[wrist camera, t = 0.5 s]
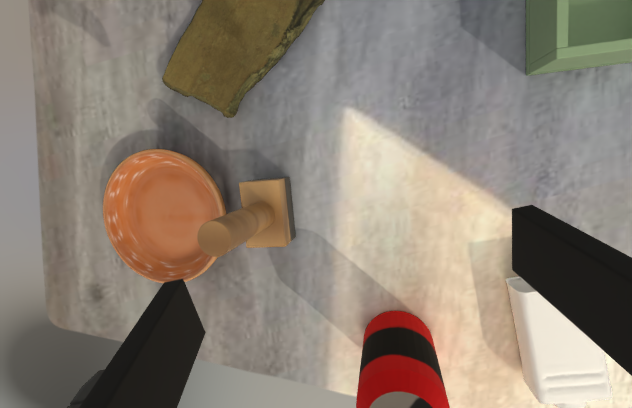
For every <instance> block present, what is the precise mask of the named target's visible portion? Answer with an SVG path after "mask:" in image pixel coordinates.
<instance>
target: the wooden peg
mask: <svg viewBox="0 0 632 408" xmlns="http://www.w3.org/2000/svg"><path fill="white" fill-rule="evenodd" d="M239 188H240V196H241V205H242V208H241V209H239V210H236V211H233V212H231V213H228V214H226V215H223V216H221V217H218V218H215V219H213V220H210V221H208V222H205V223H204V224H203V225H202V226H201V227H200V229H199V231H198V235H197V239H198V244H199V246H200V248H201V249H202V250H203V251H204V252H205V253H206V254H208V255H210V256H213V257H220V256H223V255H225V254H226V253H228V252H229V251H231V250H232V249H234V248H236V247H237V246H239V245H240V244H242V243H243V242H245V241H246V246H247V248H255V247H286V246H287V245H288V244H289V243H290V242H291V241H292V240H293V239H294V238H295V237H296V235H295V225H294V215H293V205H292V195H291V185H290V177H282V178H270V179H257V180H250V181H245V182H241V183H239Z"/></svg>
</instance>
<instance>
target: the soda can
mask: <svg viewBox="0 0 632 408" xmlns="http://www.w3.org/2000/svg"><path fill="white" fill-rule="evenodd" d="M356 408H450V407H449V403H448V399H447V395H446V391H445V387H444V383H443V379H442V375H441V371H440V367H439V363H438V359H437V355H436V351H435V347H434V343H433V339H432V336H431V333H430V331H429V329H428V328H427V326H426V325H425V324H424V323H423V322H422V321H421V320H420V319H419V318H417V317H416V316H414V315H412V314H409V313H406V312H402V311H389V312H385V313H382V314H380V315H378V316H376V317H375V318H374V319H373V320H372V321H371V322H370V323H369V324H368V326H367V328H366V331H365V334H364V341H363V350H362V358H361V367H360V375H359V384H358V392H357V403H356Z"/></svg>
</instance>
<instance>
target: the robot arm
mask: <svg viewBox="0 0 632 408" xmlns="http://www.w3.org/2000/svg"><path fill="white" fill-rule="evenodd" d="M512 270H513V271H514V272H515V273H517V274H518V275H519V276H520V277H521V278H522V279H523V280H524V281H526V282H527V283H528V284H529V285H530V286H531V287H532V288H533V289H535V290H536V291H537V292H538V293H539V294H540V295H541V296H543V297H544V298H545V299H546V300H547V301H548V302H549V303H550V304H552V305H553V306H554V307H555V308H556V309H557V310H558V311H559V312H561V313H562V314H563V315H564V316H565V317H566V318H567V319H568V320H570V321H571V322H572V323H573V324H574V325H575V326H576V327H577V328H579V329H580V330H581V331H582V332H583V333H584V334H585V335H587V336H588V337H589V338H590V339H591V340H592V341H593V342H594V343H596V344H597V345H598V346H599V347H600V348H601V349H602V350H603V351H605V352H606V353H607V354H608V355H609V356H610V357H611V358H612V359H614V360H615V361H616V362H617V363H618V364H619V365H620V366H621V367H623V368H624V369H625V370H626V371H627V372H628V373H629V374H630V375H632V258H631V257H629V256H627V255H626V254H624V253H622V252H620V251H618V250H616V249H614V248H612V247H610V246H609V245H607V244H605V243H603V242H601V241H599V240H597V239H595V238H594V237H592V236H590V235H588V234H586V233H584V232H582V231H580V230H578V229H577V228H575V227H573V226H571V225H569V224H567V223H565V222H563V221H561V220H560V219H558V218H556V217H554V216H552V215H550V214H548V213H546V212H545V211H543V210H541V209H539V208H537V207H535V206H533V205H529V206H524V207H519V208H515V209H512ZM204 335H205V330H204V328H203V326H202V323H201V321H200V318H199V316H198V314H197V311H196V309H195V306H194V304H193V302H192V299H191V297H190V294H189V292H188V290H187V287H186V285H185V282H184V280H183V279H178V280H173V281H169V282H164V284H163V285H162V287H161V288H160V290H159V291H158V292H157V294H156V295H155V297H154V298H153V300H152V301H151V303H150V304H149V306H148V307H147V309H146V310H145V312H144V313H143V315H142V316H141V317H140V319H139V320H138V322H137V323H136V325H135V326H134V328H133V329H132V331H131V332H130V334H129V335H128V337H127V338H126V339H125V341H124V342H123V344H122V345H121V347H120V348H119V350H118V351H117V353H116V354H115V356H114V357H113V359H112V360H111V362H110V363H109V365H108V366H107V367H106V369H105V370H100V371H98V372H97V373H96V374H95V375H94V376H93V377H92V378H91V379H90V380H88V382H86V383H85V384H84V385H83V386H82V388H81V389H80V390H79V392H78V393H77V394H76V396H75V397H74V399H73V400H72V401H71V403H70V404H71V405H70V406H68V407H67V408H177V406H178V403H179V401H180V398H181V395H182V393H183V390H184V387H185V385H186V382H187V380H188V377H189V375H190V372H191V369H192V366H193V364H194V361H195V359H196V356H197V353H198V351H199V348H200V346H201V343H202V340H203V338H204Z"/></svg>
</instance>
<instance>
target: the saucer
mask: <svg viewBox="0 0 632 408" xmlns="http://www.w3.org/2000/svg"><path fill="white" fill-rule="evenodd" d="M223 215H226V208H225V204H224V201H223V198H222V195H221V193H220V191H219V189H218V187H217V185H216V183H215V182H214V180H213V179H212V177H211V176H210V175H209V174H208V173H207V171H206V170H205V169H204V168H203V167H202V166H200V165H199V164H198V163H197V162H195V161H194V160H192V159H191V158H189V157H187V156H185V155H183V154H180V153H177V152H173V151H169V150H164V149H149V150H144V151H140V152H138V153H135V154H133V155H131V156H129V157H128V158H126V159H125V160H124V161H122V162H121V163H120V164H119V165H118V166H117V168H116V169H115V170H114V172H113V173H112V175H111V177H110V179H109V181H108V183H107V186H106V189H105V193H104V200H103V217H104V223H105V228H106V231H107V234H108V237H109V239H110V241H111V244H112V245H113V247H114V249H115V251H116V252H117V254H118V255H119V256H120V258H121V259H122V260H123V261H124V262H125V263H126V264H127V265H128V266H129V267H130V268H131V269H132V270H134V271H135V272H136V273H138V274H140V275H141V276H143V277H145V278H147V279H150V280H152V281H155V282H160V283H164V282H169V281H173V280H178V279H183V280H184V282H186V281H189V280H192V279H194V278H196V277H197V276H199V275H201V274H202V273H203V272H204V271H206V270H207V269H208V268H209V267H210V266H211V265H212V264H213V262H214V261H215V260H216V259H217V257H213V256H210V255H208V254H206V253H205V252H204V251H203V250H202V249H201V248H200V246H199V244H198V239H197V235H198V231H199V229H200V227H201V226H202V225H203V224H204V223H205V222H208V221H210V220H213V219H215V218H218V217H221V216H223Z"/></svg>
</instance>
